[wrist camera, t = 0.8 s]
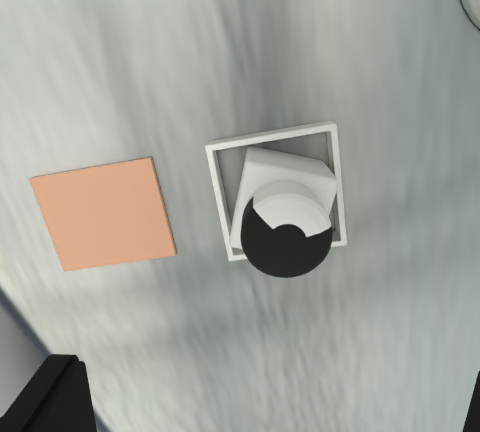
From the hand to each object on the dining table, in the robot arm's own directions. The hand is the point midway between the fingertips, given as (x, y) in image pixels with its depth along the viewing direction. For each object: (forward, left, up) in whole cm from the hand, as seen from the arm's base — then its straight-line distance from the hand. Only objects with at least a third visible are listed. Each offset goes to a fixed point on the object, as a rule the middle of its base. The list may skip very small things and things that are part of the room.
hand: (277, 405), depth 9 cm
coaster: (+16, +3, -27) cm, 31 cm away
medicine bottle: (-1, +3, -27) cm, 27 cm away
